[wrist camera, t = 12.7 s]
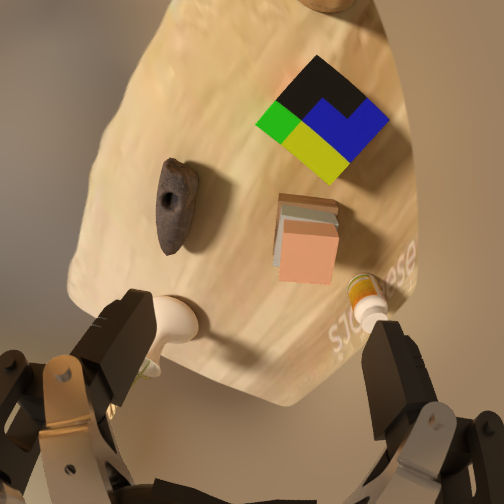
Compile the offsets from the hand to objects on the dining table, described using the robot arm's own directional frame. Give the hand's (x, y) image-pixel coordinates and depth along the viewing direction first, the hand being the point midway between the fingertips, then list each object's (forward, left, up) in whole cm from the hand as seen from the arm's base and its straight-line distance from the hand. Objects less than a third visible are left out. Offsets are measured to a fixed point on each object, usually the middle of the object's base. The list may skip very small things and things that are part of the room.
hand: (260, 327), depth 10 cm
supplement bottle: (+18, +16, -32) cm, 40 cm away
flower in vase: (+30, -18, -32) cm, 48 cm away
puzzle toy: (-7, +4, -32) cm, 33 cm away
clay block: (+8, +4, -24) cm, 26 cm away
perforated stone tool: (+7, -14, -32) cm, 36 cm away
